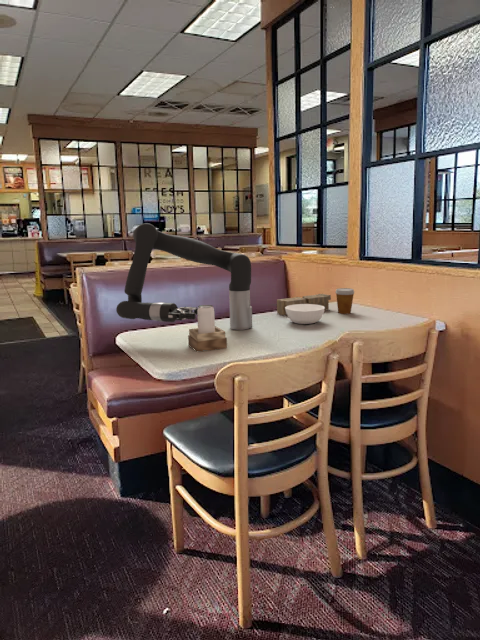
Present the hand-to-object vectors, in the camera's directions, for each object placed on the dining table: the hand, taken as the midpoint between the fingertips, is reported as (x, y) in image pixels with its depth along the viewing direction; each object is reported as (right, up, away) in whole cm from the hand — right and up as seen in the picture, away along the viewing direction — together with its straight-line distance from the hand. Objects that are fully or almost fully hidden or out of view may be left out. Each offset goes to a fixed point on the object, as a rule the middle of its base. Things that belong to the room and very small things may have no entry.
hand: (200, 314), depth 187 cm
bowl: (+46, -4, +41) cm, 61 cm away
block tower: (+49, +2, +67) cm, 82 cm away
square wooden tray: (+3, -9, +1) cm, 9 cm away
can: (+2, -9, +1) cm, 9 cm away
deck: (+3, -13, +2) cm, 13 cm away
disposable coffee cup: (+68, +1, +60) cm, 91 cm away
